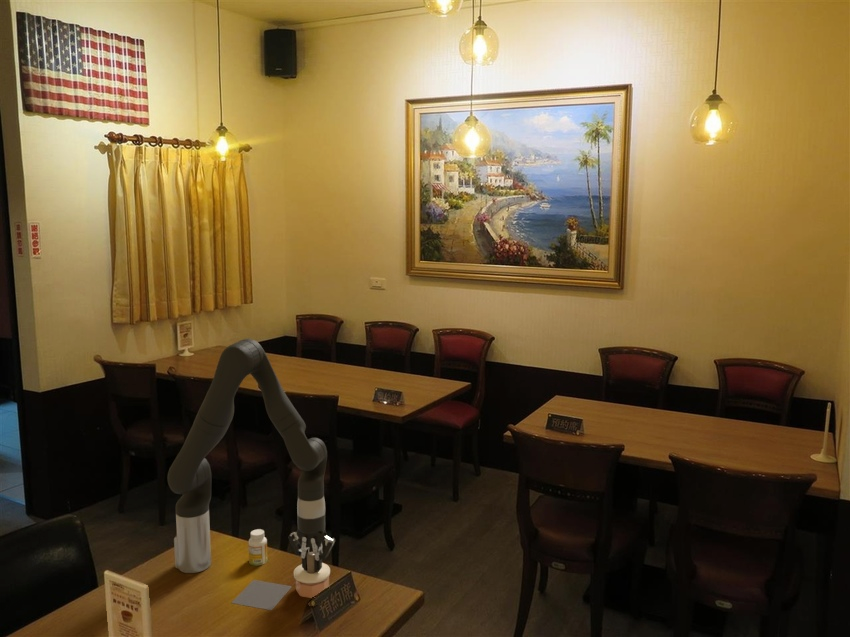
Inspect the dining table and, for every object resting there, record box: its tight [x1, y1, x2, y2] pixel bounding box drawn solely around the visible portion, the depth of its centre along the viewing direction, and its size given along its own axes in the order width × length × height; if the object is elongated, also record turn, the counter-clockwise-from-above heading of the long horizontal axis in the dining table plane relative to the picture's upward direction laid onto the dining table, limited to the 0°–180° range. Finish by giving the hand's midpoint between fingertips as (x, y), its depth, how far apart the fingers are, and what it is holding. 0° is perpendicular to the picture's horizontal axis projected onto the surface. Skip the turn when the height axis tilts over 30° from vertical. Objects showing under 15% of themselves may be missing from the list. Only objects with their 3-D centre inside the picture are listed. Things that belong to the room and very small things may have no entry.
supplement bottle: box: [248, 528, 268, 566], centre depth 207 cm, size 5×5×10 cm
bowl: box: [295, 576, 330, 599], centre depth 193 cm, size 8×8×4 cm
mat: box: [231, 579, 293, 611], centre depth 190 cm, size 12×12×1 cm
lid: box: [293, 551, 331, 584], centre depth 192 cm, size 10×10×6 cm
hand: (312, 569), depth 192 cm, fingers closed on lid, 2 cm apart
